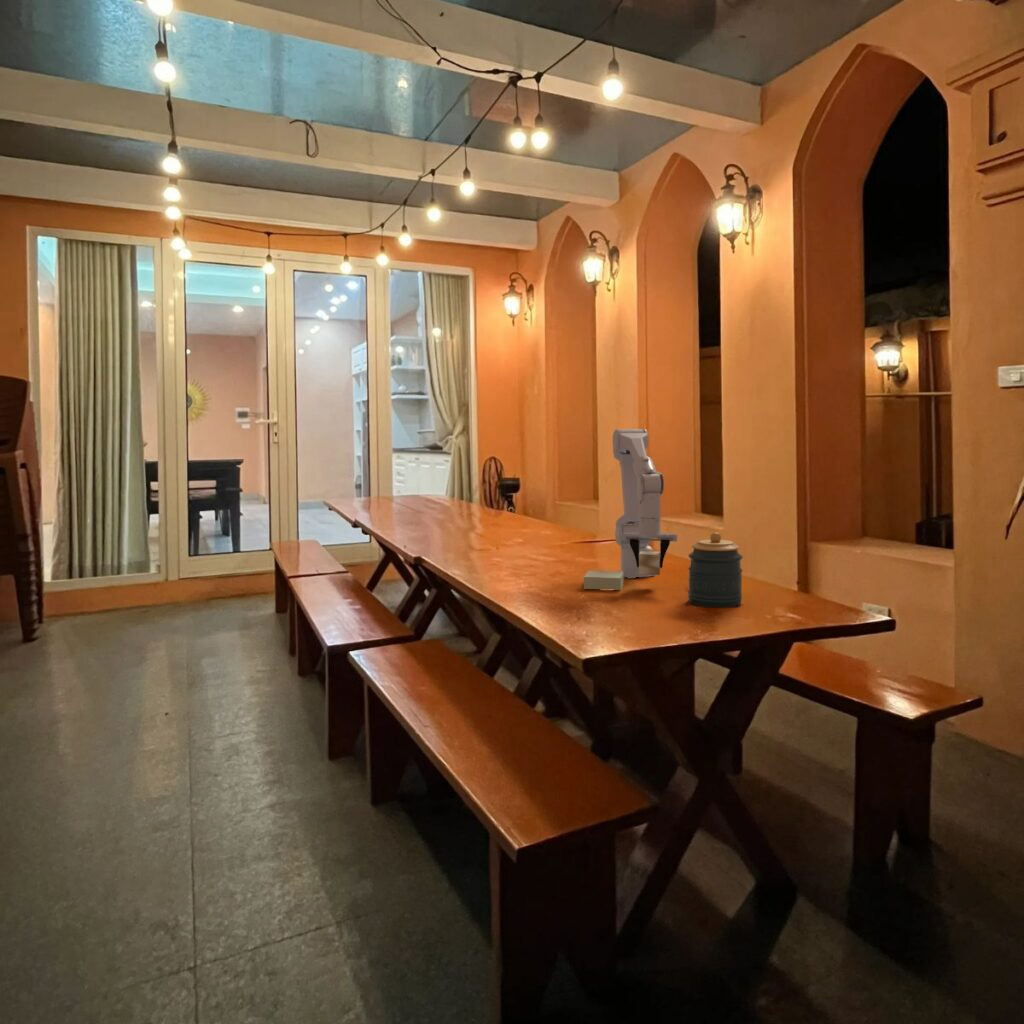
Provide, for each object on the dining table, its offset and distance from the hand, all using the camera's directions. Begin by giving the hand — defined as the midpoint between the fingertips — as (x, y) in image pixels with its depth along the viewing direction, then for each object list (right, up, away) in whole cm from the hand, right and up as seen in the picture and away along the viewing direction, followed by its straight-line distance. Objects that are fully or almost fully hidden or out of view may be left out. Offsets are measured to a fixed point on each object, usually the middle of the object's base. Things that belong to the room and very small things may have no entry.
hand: (649, 566), depth 200 cm
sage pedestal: (-12, -6, +3) cm, 14 cm away
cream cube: (0, -2, 0) cm, 2 cm away
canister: (+13, -8, -18) cm, 24 cm away
